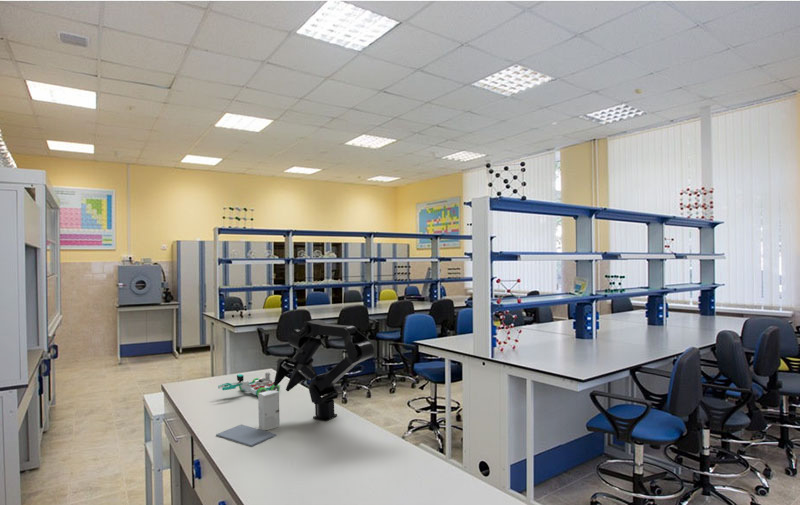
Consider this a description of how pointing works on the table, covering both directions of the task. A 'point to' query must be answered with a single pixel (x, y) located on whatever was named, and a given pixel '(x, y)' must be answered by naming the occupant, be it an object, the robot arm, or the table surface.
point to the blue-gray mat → (246, 435)
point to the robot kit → (252, 385)
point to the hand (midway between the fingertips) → (280, 388)
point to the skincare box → (268, 410)
